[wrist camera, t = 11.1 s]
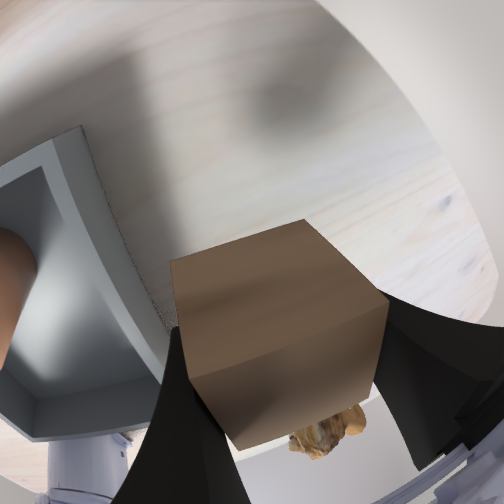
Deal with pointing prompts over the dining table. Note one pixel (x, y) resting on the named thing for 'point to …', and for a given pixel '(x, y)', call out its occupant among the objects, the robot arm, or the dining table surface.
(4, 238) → the terracotta cylinder
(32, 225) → the tote
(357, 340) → the walnut block
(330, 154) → the dining table surface
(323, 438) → the lion figurine
